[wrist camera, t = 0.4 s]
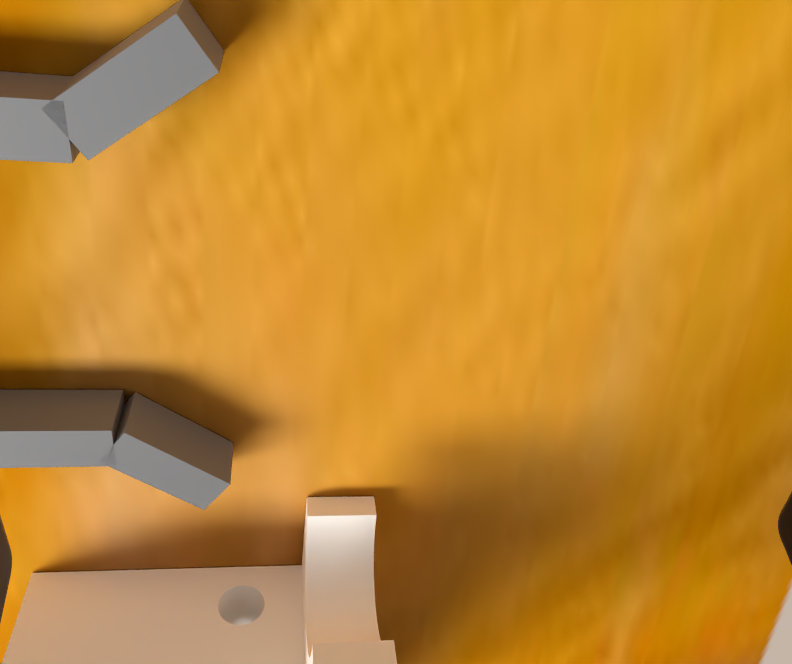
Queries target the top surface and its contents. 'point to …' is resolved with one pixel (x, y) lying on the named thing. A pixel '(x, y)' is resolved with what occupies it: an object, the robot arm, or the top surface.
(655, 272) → the top surface
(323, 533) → the bracket
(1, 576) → the robot arm
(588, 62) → the top surface
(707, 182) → the top surface
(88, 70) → the guide dock
